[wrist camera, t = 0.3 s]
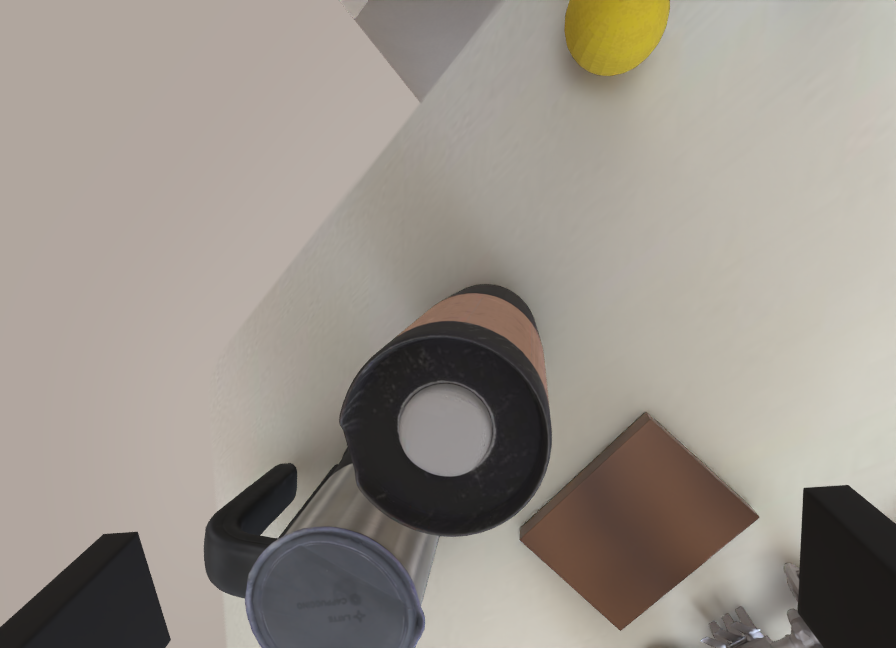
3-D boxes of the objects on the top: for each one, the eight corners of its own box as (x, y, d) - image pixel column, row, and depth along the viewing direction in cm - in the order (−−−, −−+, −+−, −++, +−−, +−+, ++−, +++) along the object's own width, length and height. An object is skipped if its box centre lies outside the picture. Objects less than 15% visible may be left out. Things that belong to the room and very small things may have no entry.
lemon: (634, -18, 32) (668, -99, 24) (661, 69, 33) (703, 18, 25) (548, 20, 33) (555, -46, 26) (576, 105, 34) (590, 65, 26)
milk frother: (445, 411, 39) (396, 516, 24) (489, 600, 41) (468, 801, 26) (273, 440, 41) (136, 551, 27) (322, 617, 43) (220, 808, 29)
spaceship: (1262, 566, 25) (1238, 492, 22) (671, 812, 37) (602, 785, 34) (1081, 452, 32) (1045, 384, 29) (630, 689, 44) (570, 657, 41)
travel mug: (561, 317, 36) (601, 410, 17) (502, 404, 38) (477, 581, 18) (468, 259, 37) (403, 285, 17) (414, 348, 38) (298, 464, 19)
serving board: (645, 411, 37) (650, 418, 35) (750, 506, 37) (760, 517, 35) (519, 528, 39) (519, 539, 38) (616, 616, 39) (620, 631, 38)
